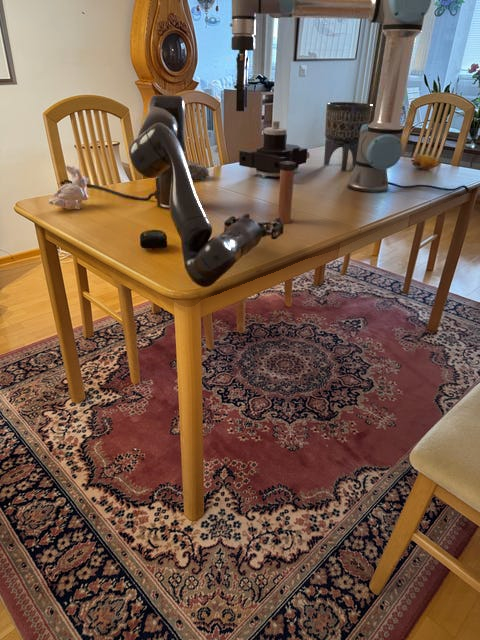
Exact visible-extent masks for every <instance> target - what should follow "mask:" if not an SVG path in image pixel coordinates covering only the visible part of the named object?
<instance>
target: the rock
mask: <svg viewBox="0 0 480 640" xmlns="http://www.w3.org/2000/svg"><path fill="white" fill-rule="evenodd" d="M186 162H187V165H188V168H189V171H190V175H191V178H192V182H196V181H197V182H198V181H202V179H205V178H207V177H210V173H209V172H210V171H209V169H208V168H207V167H206V166H205V165H202V164H200V163H196V162H193V161H192V160H188V161H186Z"/></svg>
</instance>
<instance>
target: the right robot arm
mask: <svg viewBox="0 0 480 640" xmlns="http://www.w3.org/2000/svg"><path fill="white" fill-rule="evenodd" d="M431 4H432V0H231V22H230V23H229V27H231V35H233V36H231V46H230V47H231V50H232V51H238V53H237V54H236V58H235V59H236V60H235V61H236V83H235V84H234V90H236V101H235V102H236V103H235V104H236V106H235V111H236V112H245V111H246V109H245V108H248V87H250V83H249V79H248V78H249V65H250V57H249V54H248V51H255V49H256V38H255V37H254V36H255V35H256V25H257V23H256V22H257V19H256V16H257V14H258V15H262V14H263V15H268V16H269V17H270V18H272V19H281V18H299V19H300V18H301V19H302V18H307V19H349V20H350V19H352V20H353V19H354V20H367V21H368V23H370V24H371V23H374V24H383V25H382V33H383V34H384V36H385V38H386V39H385V43H384V44H385V45H384V51H383V57H382V58H383V59H382V63H381V64H382V65H381V70H380V71H381V72H380V77H379V82H378V89H377V97H376V101H375V110H374V116H373V120H372V121H371V122H369V124H364V125H362V127H361V130H360V133H359V134H360V137H359V144H358V151H357V158H356V165H355V166H354V167H353V171H351V174H350V176H349V179H348V180H347V181H348V182H347V187H348V188H349V189H351V190H354V191H358V192H363V193H364V192H365V193H382V192H386V191H388V189H389V185H390V186H393V187H396V188H400V189H410V188H419V187H420V188H429V189H436V190H440V191H447V192H448V191H449V192H453V191H454V192H455V191H458V190H460V189H462V188H463V189H465V191H468V190H469V187H468V186H466V185H464V184H463V185H460V186H457V187H454V188H448V187H440V186H436V185H429V184H412V185H401V184H397V183H394V182H390V181H389V178H388V173H387V172H388V171H387V169H390V168H392V167H394V166H395V165H396V164H397V163H399V161H400V159H401V158H402V155H403V152H404V149H403V148H404V147H403V141H402V139H403V138H402V137H403V132H404V126H403V124H402V123H401V117H402V112H403V107H404V101H405V97H406V96H405V95H406V90H407V84H408V79H409V73H410V67H411V62H412V59H413V51H414V45H415V41H416V38H417V37H418V36H419V35H420V34H421V33H422V32H423V31H422V30H423V25H424V20H425V16H426V14H427V13H428V12H429V9H430V7H431Z"/></svg>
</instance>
